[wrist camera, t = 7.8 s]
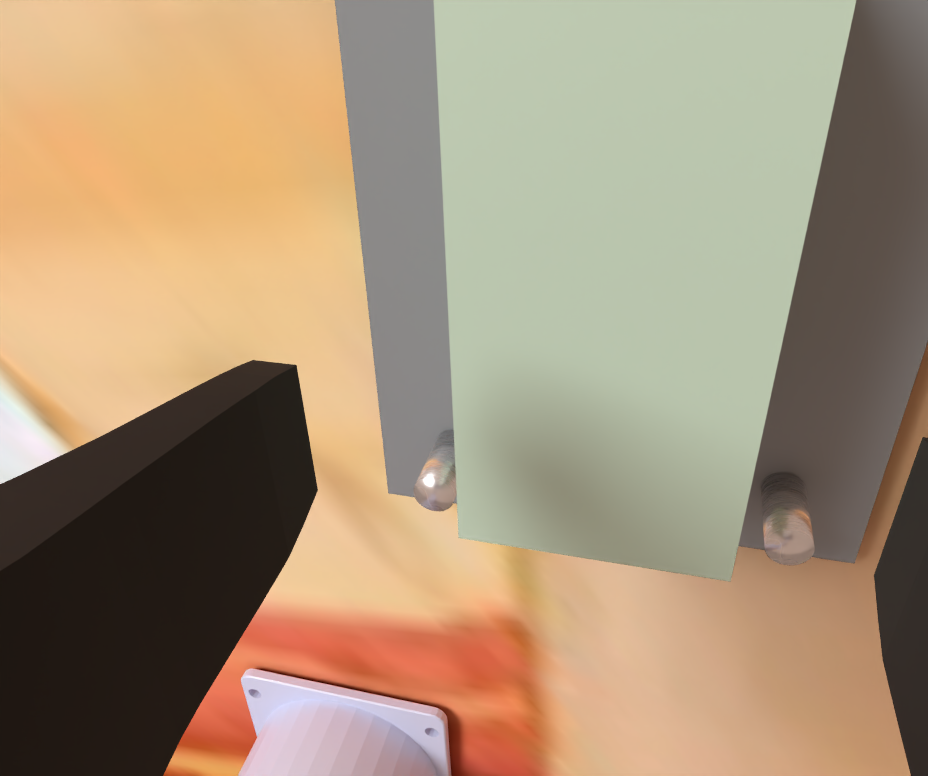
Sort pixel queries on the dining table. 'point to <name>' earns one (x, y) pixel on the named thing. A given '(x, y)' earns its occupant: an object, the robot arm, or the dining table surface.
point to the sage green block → (624, 260)
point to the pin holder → (812, 306)
